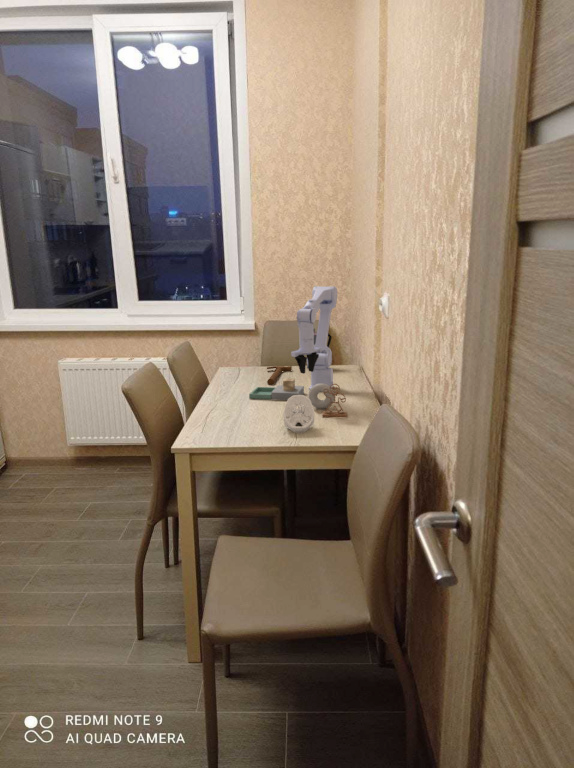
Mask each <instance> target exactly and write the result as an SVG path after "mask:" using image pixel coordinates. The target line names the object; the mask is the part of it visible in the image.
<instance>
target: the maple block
mask: <svg viewBox="0 0 574 768" xmlns="http://www.w3.org/2000/svg"><path fill="white" fill-rule="evenodd" d="M295 380H296V379H295V378H284V379H283V381H282V385H283V390H287V391H293V390H294V389H295V386H296V383H295V382H296V381H295Z"/></svg>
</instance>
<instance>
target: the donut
mask: <svg viewBox="0 0 574 768" xmlns="http://www.w3.org/2000/svg"><path fill="white" fill-rule="evenodd" d="M324 389H328V390H329V392H330V390H331V391H332V390H333V391H334V389H330V386H329V385H327V384H323V383H320V384H316V385H314V386H313V387H312V388H311V389H309V392H308V398H309V399H310V401H311V403H312V406H313V408H316V409H319V410H325V409H326V410H327V408H328V406H329V405H330V398H327V397H331V402H334V396H332V394H329V393H325V395H326V396H327V397H326V396H325V395H324V396H325V398H324V399H323V400H321V399H319V397H318V395H319V394H320V393H323V391H324V392H325V391H326V392H327V391H328V390H324ZM333 391H332V392H333ZM330 393H331V392H330ZM333 394H334V392H333ZM332 405H334V404H333V403H331V405H330V406H329V408H330V407H331V406H332ZM329 408H328V409H329Z"/></svg>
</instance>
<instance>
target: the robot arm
mask: <svg viewBox="0 0 574 768" xmlns="http://www.w3.org/2000/svg"><path fill="white" fill-rule="evenodd" d="M311 295H312V296H311V297H312V298H309V299H308V300H307V301H306V303H305V305H304V306H303V307H302V308H300V309H298V310H297V312H296V321H297V327H298V331H299V332H298V333H299V334H298V335H299V336H298V337H299V340H298V341H299V345H298V347H299V348H298V349H297V350H293V351H291V352H290V356H291V357H292V358H294V359H295V361H296V363H297V365H298V368H299V373H300V374H305V373H306V366H307V364H308V368H307V369H308V372H310V385H309V388H308V389H309V390H310V389H311V388H312V387H313V386H314V385H316V384H320V383H323V384H327V385H329V386H331V385H332V384H334V370H333V369H334V368H332V367H331V365H332V361H333V357H332V356H333V352H332V350H331V348H330V347H329V348H328V347H327V343H328V339H329V336H328V333H329V329H330V322H331V316H332V310H333V309H334V308H336V306H337V302H338V300H337V299H338V288H337V287H336V286H335V285H332V286H316V285H315V286H314V287H313V288H312V292H311ZM318 311H319V318H318V324H317V331H316V332H317V337H316V344H315V345H314V329H315V328H314V324H315V322H316V318H317V313H318ZM332 387H334V385H332V386H331V388H332Z"/></svg>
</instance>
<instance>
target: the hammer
mask: <svg viewBox="0 0 574 768" xmlns="http://www.w3.org/2000/svg"><path fill="white" fill-rule="evenodd" d="M266 370H269V371H272V372H273V373H272V374H271V375H270V377H269V378H268V379H267V381H266V383H267V385H269V386H274V385H275V383H276V381H277V380H278V378H279V376H280V375H281V374H282V373H283V372H282V371H285V372H289V371H291V370H292V371H293V367H292V365H289V366H285V365H276V366H275V365H273V366H268V367H266ZM273 370H276V371H273ZM292 371H291V372H292Z"/></svg>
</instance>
